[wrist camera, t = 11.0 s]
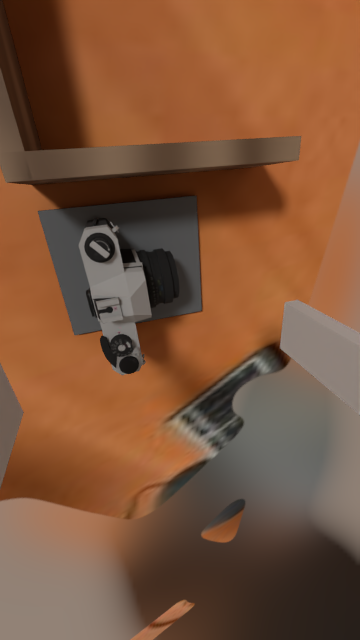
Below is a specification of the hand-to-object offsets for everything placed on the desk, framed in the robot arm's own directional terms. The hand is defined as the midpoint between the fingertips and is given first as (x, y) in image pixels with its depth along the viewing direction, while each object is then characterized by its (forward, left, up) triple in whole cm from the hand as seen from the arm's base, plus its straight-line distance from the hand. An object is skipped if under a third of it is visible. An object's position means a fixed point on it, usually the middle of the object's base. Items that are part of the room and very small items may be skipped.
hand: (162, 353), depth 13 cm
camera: (0, -1, -16) cm, 16 cm away
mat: (0, 0, -17) cm, 17 cm away
